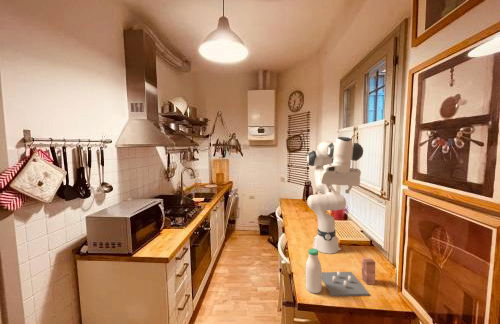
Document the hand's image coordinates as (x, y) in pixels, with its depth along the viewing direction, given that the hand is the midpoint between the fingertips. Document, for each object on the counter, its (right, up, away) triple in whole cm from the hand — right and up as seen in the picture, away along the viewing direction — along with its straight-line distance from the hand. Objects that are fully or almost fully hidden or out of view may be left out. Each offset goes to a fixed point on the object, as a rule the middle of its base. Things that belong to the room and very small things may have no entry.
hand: (338, 192), depth 114 cm
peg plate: (0, -47, -5) cm, 47 cm away
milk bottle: (-16, -48, -8) cm, 51 cm away
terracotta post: (+14, -47, -3) cm, 49 cm away
